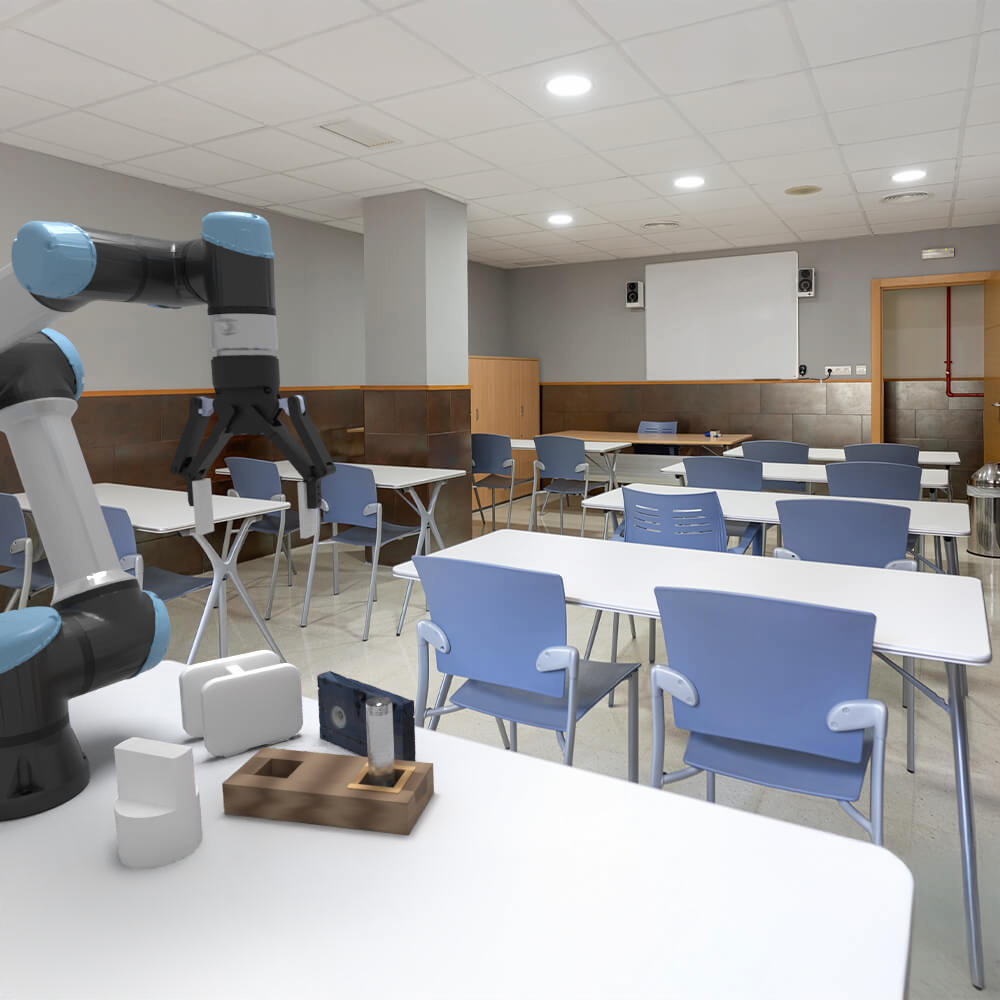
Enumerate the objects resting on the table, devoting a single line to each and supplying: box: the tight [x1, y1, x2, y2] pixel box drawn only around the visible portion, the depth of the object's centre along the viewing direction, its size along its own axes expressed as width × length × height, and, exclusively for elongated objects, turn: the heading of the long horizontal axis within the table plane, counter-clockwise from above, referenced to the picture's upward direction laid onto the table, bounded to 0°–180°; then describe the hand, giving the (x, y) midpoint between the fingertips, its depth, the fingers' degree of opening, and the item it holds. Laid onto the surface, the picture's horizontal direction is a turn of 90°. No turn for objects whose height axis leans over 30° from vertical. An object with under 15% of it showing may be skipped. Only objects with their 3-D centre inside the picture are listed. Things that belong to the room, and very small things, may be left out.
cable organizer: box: [178, 649, 304, 758], centre depth 121 cm, size 15×11×12 cm
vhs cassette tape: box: [316, 670, 417, 762], centre depth 115 cm, size 18×3×10 cm, turn 49°
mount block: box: [221, 747, 435, 836], centre depth 102 cm, size 24×10×4 cm, turn 77°
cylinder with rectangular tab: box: [113, 736, 203, 869], centre depth 93 cm, size 9×9×12 cm
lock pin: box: [366, 697, 395, 788], centre depth 100 cm, size 3×3×14 cm
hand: (256, 534), depth 97 cm, fingers open, 13 cm apart
